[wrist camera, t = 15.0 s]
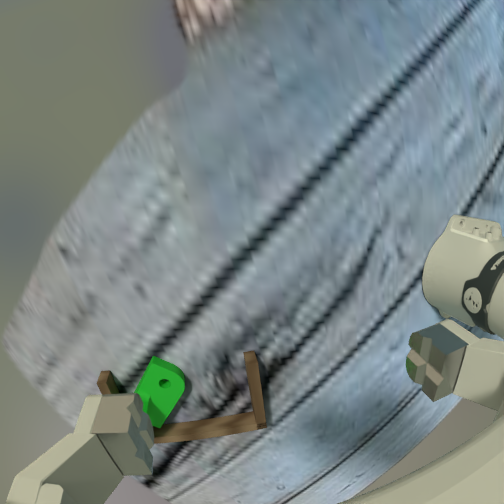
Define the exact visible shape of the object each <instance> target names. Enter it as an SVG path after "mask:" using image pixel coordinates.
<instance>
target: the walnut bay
mask: <svg viewBox="0 0 504 504" xmlns="http://www.w3.org/2000/svg"><path fill="white" fill-rule="evenodd" d="M243 353H244V359H245V365H246V371H247V378H248V384H249V390H250V396H251V402H252V407H253V411H252V412H247V413H242V414H236V415H231V416H225V417H218V418H212V419H205V420H198V421H190V422H182V423H172V424H163V425H162V426H161V428H157V427H155V426H153V432H154V444H155V443H168V442H179V441H188V440H197V439H204V438H212V437H218V436H225V435H231V434H237V433H242V432H248V431H253V430H258V429H263V428H267V425H266V418H265V411H264V403H263V396H262V389H261V382H260V374H259V367H258V361H257V358H256V355H255V352H254V351H249V352H243ZM97 385H98V387H99V389H100V391H101V393H102V395H105V394H120V393H119V391H118V388H117V386H116V384H115V381H114V379H113V377H112V374H111V372H110V371H101V373H100V376H99V379H98V381H97Z"/></svg>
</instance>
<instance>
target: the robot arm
mask: <svg viewBox="0 0 504 504" xmlns="http://www.w3.org/2000/svg"><path fill="white" fill-rule="evenodd" d="M422 285H423V292H424V295H425V298H426V299H427V301H428V302H429V303H430V304H431V305H432V306H434V307H436V308H437V309H438V310H439V312H440V314H441V316H442V317H444V318H446V320H444V321H441V322H439V323H437V324H435V325H433V326H430V327H427V328H425V329H422V330H419V331H417V332H414V333H412V335H411V336H410V339H409V346H410V348H411V350H410V352H409V354H408V355H407V358H406V369H407V373H408V375H409V377H410V378H411V379H412V380H413V381H414V382H415V383H418V384H421V385H422V391H423V392H424V393H425V394H426V395H427V396H428V397H429V398H430V399H431V400H432V401H433V402H434V401H437V400H439V399H441V398H443V397H445V396H447V395H449V394H451V393H453V394H455V395H458V396H460V397H463V398H465V399H468V400H470V401H473V402H476V403H478V404H481V405H483V406H486V407H489V408H491V409H494V410H497V411H498V413H497V415H496V417H495V419H494V422H493V423H492V424H491V425H490V426H488V427H487V428H485V429H484V430H483V431H481V432H480V433H478V434H477V435H475V436H474V437H472V438H471V439H469V440H468V441H466V442H465V443H463V444H462V445H460V446H459V447H457V448H455V449H454V450H452V451H450V452H449V453H447V454H445V455H444V456H442V457H440V458H438V459H437V460H435V461H433V462H431V463H429V464H427V465H425V466H424V467H422V468H420V469H418V470H416V471H414V472H412V473H410V474H408V475H406V476H404V477H402V478H399V479H397V480H395V481H393V482H391V483H389V484H386V485H384V486H382V487H379V488H377V489H375V490H372V491H370V492H367V493H365V494H362V495H359V496H357V497H354V498H351V499H349V500H346V501H343V502H340V503H337V504H504V341H498V340H493V339H487V338H481V339H479V338H478V337H476V336H475V335H473V334H472V333H470V332H469V331H467V330H466V329H464V328H463V327H462V326H460V325H459V324H457V323H456V322H454V321H453V320H450V319H448V318H450V317H453V318H455V319H457V320H459V321H461V322H463V323H465V324H467V325H469V326H471V327H474V326H476V325H477V326H478V327H480V329H482V330H483V331H486V332H488V333H490V334H493V335H495V334H496V335H498V336H499V337H501V338H502V339H504V237H503V236H502V230H501V227H500V224H499V223H497V222H494V221H489V220H484V219H478V218H472V217H466V216H460V215H453V216H452V217H451V218H450V220H449V222H448V225H447V227H446V229H445V231H444V233H443V234H442V235H441V236H440V237H439V238H438V240H437V241H436V242H435V244H434V245H433V247H432V248H431V250H430V252H429V254H428V257H427V259H426V262H425V266H424V270H423V278H422ZM153 445H154V432H153V426H152V423H151V420H150V417H149V415H148V414H147V413H145V412H144V411H143V401H142V399H141V397H140V395H139V394H138V393H125V394H105V395H89V396H87V397H86V399H85V401H84V404H83V407H82V410H81V413H80V415H79V418H78V421H77V424H76V427H75V430H74V433H73V434H68V435H66V436H65V437H64V438H63V439H61V440H60V441H59V442H58V443H56V444H55V445H54V446H53V447H52V448H50V449H49V450H48V451H46V452H45V453H44V454H43V455H41V456H40V457H39V458H38V459H36V460H35V461H34V462H33V463H31V464H30V465H29V466H28V467H27V468H25V469H24V470H23V471H21V472H20V473H19V474H17V475H16V476H15V479H14V481H13V484H12V487H11V489H10V492H9V495H8V498H7V501H6V504H104V503H105V501H106V500H107V499H108V497H109V496H110V495H111V493H112V492H113V491H114V490H115V488H116V487H117V486H118V484H119V483H120V482H121V480H122V479H123V478H124V476H127V475H150V474H152V467H153V455H152V454H151V452H150V448H151V447H152V446H153Z"/></svg>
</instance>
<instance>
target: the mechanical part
mask: <svg viewBox="0 0 504 504" xmlns="http://www.w3.org/2000/svg"><path fill="white" fill-rule="evenodd" d="M162 379H167V380H169V381H163V380H162ZM184 389H185V377H184V374H183V372H182V371H181V369H180V368H178V367H177V366H175V365H174V364H171V363H169V362H167V361H164V360H162V359H160V358H157V357H155V356H153V357H152V359H151V361H150V363H149V365H148V367H147V369H146V371H145V373H144V375H143V377H142V378H141V380H140V382H139V384H138V386H137V388H136V390H135V392H134V393H138V394H139V395H140V397H141V399H142V401H143V411H144V412H145V413H147V414H148V415H149V417H150V420H151V423H152V426H155V427H157V428H161V426H162V425H163V423H164V422H165V420H166V419H167V417H168V416H169V414H170V412H171V411H172V409H173V408H174V406H175V405H176V403H177V401H178V400H179V398H180V397H181V395H182V394H183V392H184Z"/></svg>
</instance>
